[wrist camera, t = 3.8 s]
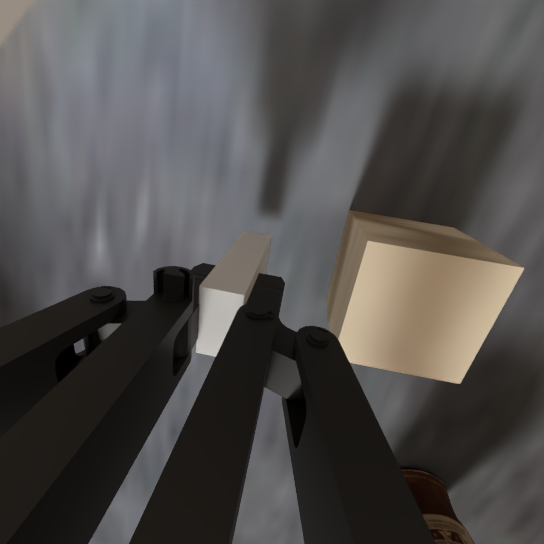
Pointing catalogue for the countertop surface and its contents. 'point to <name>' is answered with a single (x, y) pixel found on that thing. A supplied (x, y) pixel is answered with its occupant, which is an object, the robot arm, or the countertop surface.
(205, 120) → the countertop surface
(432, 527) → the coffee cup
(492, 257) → the block
